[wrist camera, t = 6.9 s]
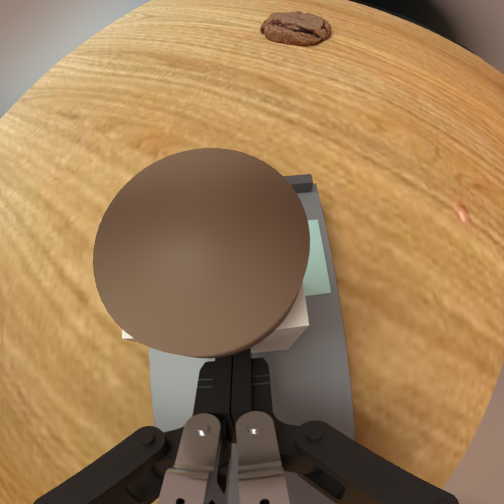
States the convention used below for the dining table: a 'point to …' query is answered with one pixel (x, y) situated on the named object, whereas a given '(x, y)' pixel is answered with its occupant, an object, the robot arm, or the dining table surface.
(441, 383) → the dining table surface
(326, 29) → the cookie
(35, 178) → the dining table surface
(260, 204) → the brown piece
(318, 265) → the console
